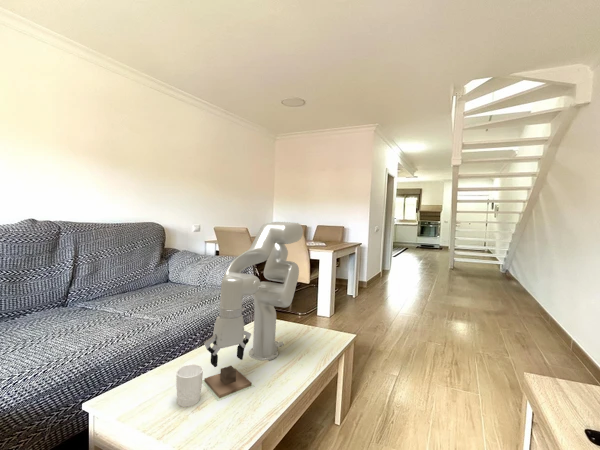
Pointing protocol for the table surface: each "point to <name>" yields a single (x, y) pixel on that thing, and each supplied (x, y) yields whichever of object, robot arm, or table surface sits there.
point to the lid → (227, 382)
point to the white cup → (189, 384)
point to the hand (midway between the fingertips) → (227, 361)
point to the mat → (227, 395)
